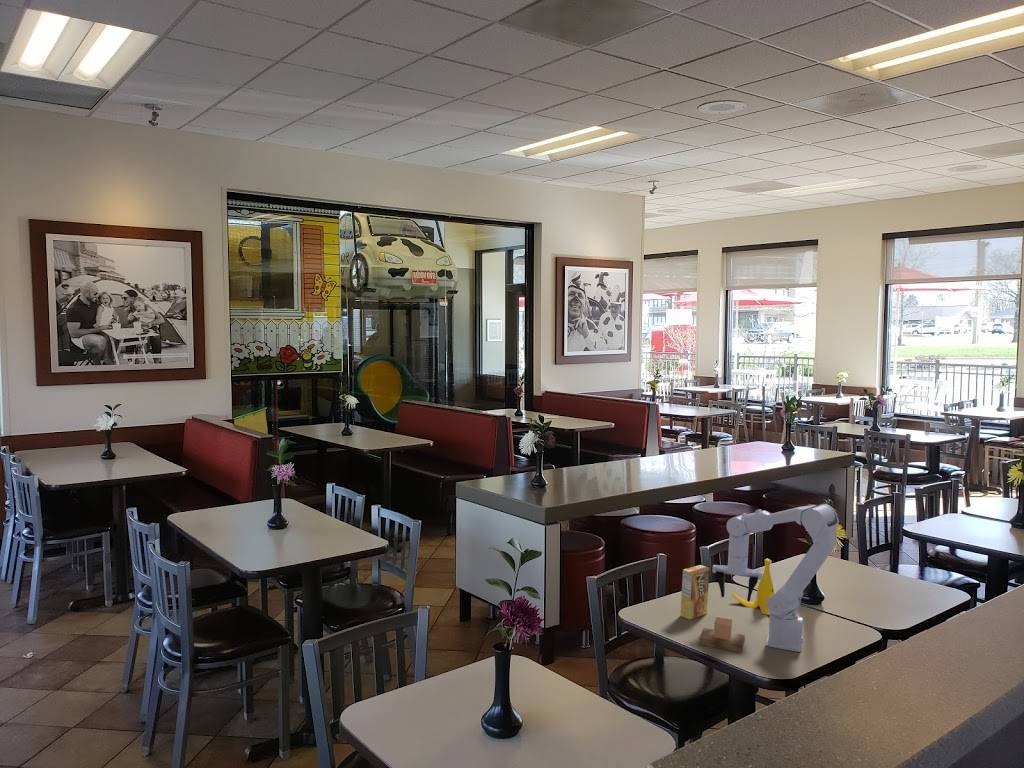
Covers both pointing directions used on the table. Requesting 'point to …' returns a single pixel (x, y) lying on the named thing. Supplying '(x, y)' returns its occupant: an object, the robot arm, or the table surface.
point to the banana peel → (761, 591)
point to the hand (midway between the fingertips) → (735, 598)
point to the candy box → (694, 592)
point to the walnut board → (722, 640)
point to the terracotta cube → (722, 628)
